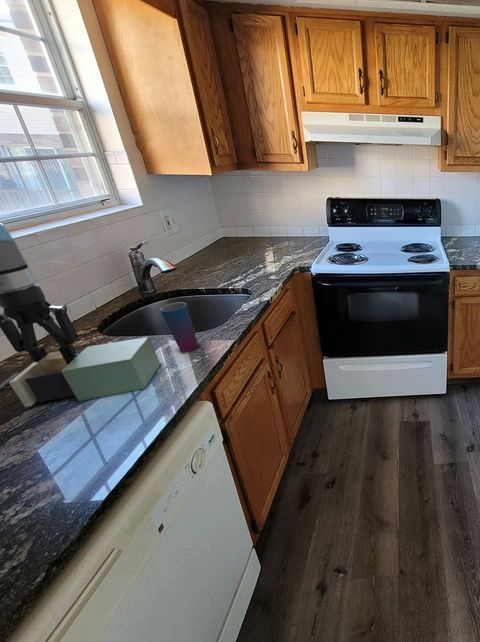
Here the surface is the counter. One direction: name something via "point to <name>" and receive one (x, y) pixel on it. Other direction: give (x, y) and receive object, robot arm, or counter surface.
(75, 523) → the counter surface
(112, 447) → the counter surface
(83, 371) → the green box
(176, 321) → the cup
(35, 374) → the black and cream piece
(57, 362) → the block
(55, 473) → the counter surface
